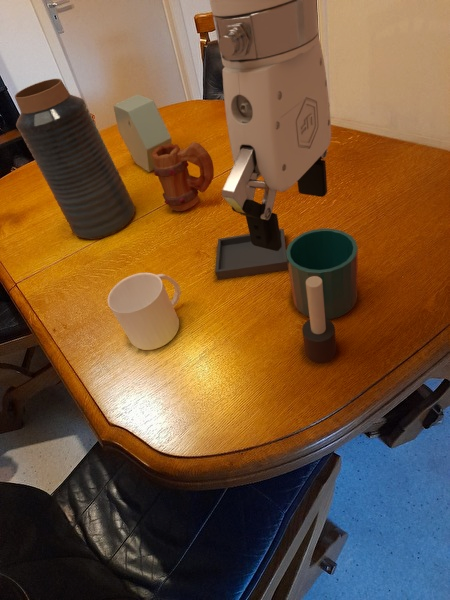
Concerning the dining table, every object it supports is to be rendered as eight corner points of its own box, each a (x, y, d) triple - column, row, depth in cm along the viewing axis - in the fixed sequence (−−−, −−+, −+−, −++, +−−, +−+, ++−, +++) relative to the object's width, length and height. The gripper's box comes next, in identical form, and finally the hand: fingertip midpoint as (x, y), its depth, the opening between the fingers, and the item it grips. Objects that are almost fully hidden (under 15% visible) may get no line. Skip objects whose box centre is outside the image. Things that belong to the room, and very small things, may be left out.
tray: (284, 236, 80) (283, 228, 79) (288, 270, 73) (286, 261, 72) (220, 246, 83) (217, 238, 81) (217, 279, 76) (214, 271, 74)
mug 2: (160, 214, 97) (137, 156, 87) (174, 196, 102) (154, 138, 92) (215, 215, 92) (198, 153, 81) (227, 195, 97) (212, 134, 86)
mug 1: (145, 360, 65) (122, 322, 59) (121, 332, 71) (98, 294, 65) (203, 318, 69) (188, 278, 63) (176, 294, 75) (159, 256, 69)
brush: (333, 337, 60) (329, 267, 51) (338, 361, 57) (334, 291, 48) (303, 340, 61) (294, 272, 52) (306, 364, 58) (297, 296, 49)
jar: (350, 272, 69) (350, 223, 62) (362, 315, 62) (363, 266, 55) (291, 280, 71) (284, 234, 64) (295, 323, 64) (288, 276, 57)
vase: (118, 241, 93) (46, 99, 71) (62, 241, 99) (-20, 109, 77) (147, 201, 103) (92, 67, 82) (94, 203, 109) (30, 78, 88)
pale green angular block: (172, 172, 123) (171, 123, 103) (150, 183, 120) (145, 135, 101) (142, 132, 126) (136, 77, 106) (120, 142, 124) (110, 88, 104)
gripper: (244, 73, 24) (280, 280, 36) (361, -10, 33) (359, 180, 44) (157, 75, 28) (215, 261, 40) (280, 2, 37) (298, 173, 49)
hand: (291, 218), depth 42 cm, fingers open, 9 cm apart
